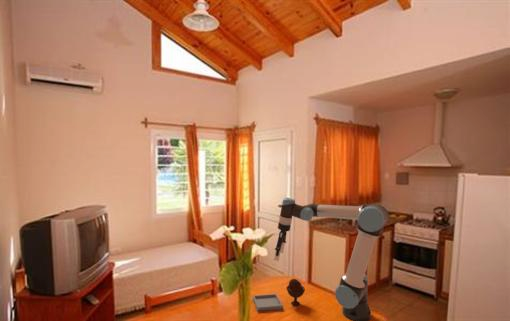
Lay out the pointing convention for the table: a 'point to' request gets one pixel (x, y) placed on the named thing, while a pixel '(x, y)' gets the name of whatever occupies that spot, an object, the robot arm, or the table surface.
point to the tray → (267, 302)
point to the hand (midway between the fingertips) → (278, 256)
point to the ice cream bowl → (295, 291)
